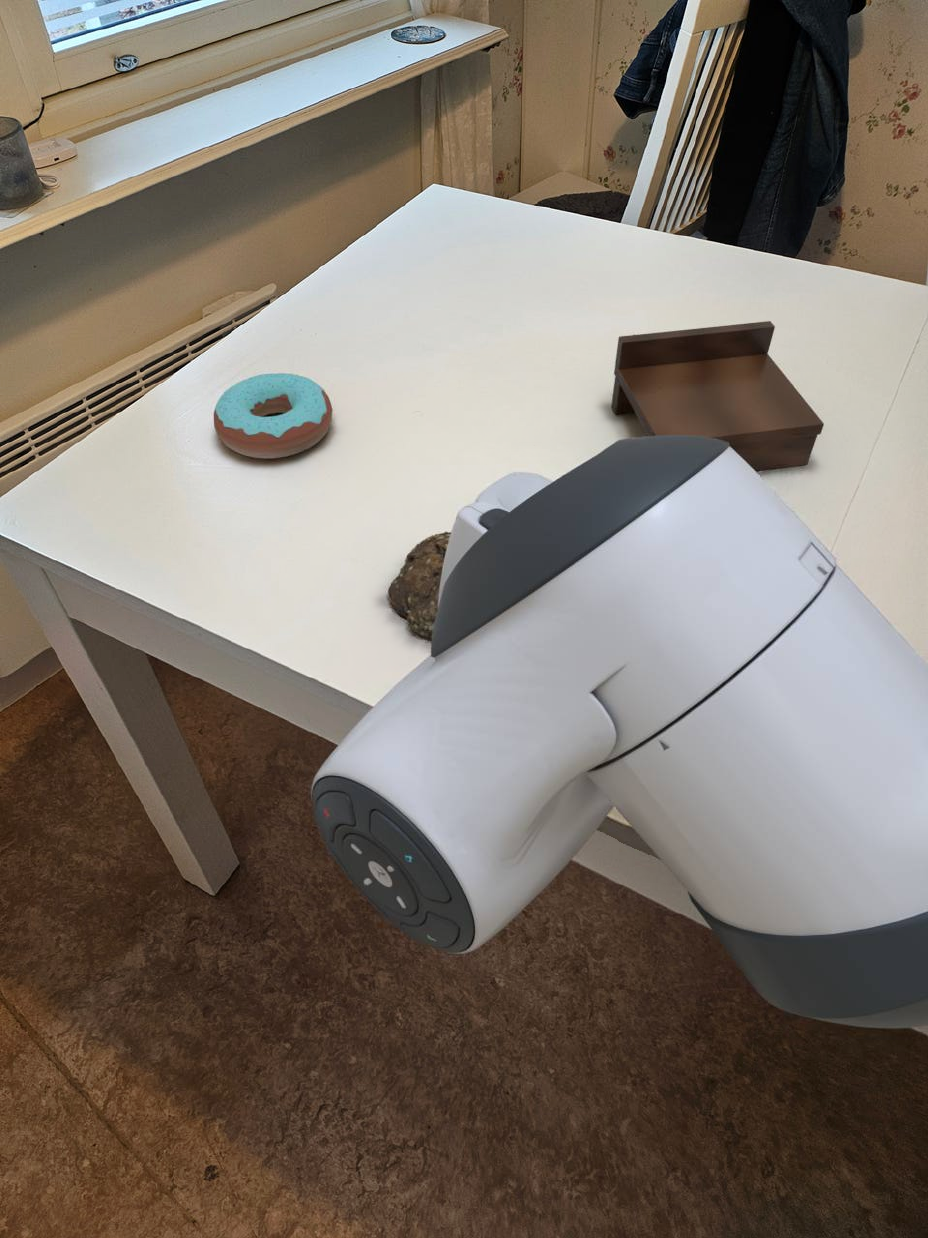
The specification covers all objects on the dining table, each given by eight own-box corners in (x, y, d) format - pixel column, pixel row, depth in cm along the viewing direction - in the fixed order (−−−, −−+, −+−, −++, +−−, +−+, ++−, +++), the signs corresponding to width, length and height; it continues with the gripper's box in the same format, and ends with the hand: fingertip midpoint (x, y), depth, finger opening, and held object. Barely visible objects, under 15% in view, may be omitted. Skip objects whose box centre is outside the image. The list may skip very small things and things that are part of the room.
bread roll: (553, 557, 76) (557, 513, 73) (528, 662, 68) (531, 619, 64) (412, 536, 78) (409, 493, 75) (372, 636, 70) (366, 592, 66)
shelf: (752, 389, 94) (770, 320, 88) (809, 467, 85) (834, 395, 79) (609, 405, 92) (618, 336, 86) (652, 486, 83) (665, 415, 77)
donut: (354, 442, 88) (350, 408, 85) (242, 481, 84) (234, 446, 81) (306, 387, 95) (301, 354, 92) (201, 420, 91) (192, 387, 88)
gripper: (866, 711, 33) (926, 572, 43) (430, 494, 40) (568, 419, 50) (799, 821, 36) (868, 669, 46) (410, 604, 44) (543, 513, 54)
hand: (710, 538), depth 48 cm, fingers open, 8 cm apart
